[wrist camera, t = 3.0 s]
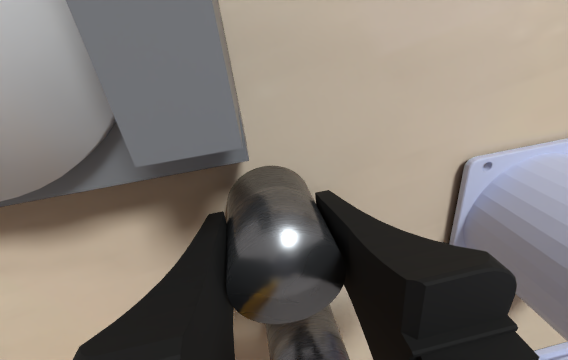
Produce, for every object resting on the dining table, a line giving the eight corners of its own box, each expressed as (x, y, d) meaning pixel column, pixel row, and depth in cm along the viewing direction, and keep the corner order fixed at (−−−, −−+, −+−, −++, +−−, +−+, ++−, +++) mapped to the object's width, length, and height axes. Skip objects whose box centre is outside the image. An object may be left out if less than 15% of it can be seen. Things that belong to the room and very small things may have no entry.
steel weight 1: (305, 158, 13) (344, 221, 9) (312, 228, 15) (347, 309, 11) (218, 175, 13) (212, 250, 8) (236, 244, 15) (240, 334, 10)
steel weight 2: (326, 279, 17) (360, 365, 13) (329, 322, 19) (360, 410, 14) (259, 294, 17) (270, 389, 12) (269, 337, 18) (282, 431, 14)
